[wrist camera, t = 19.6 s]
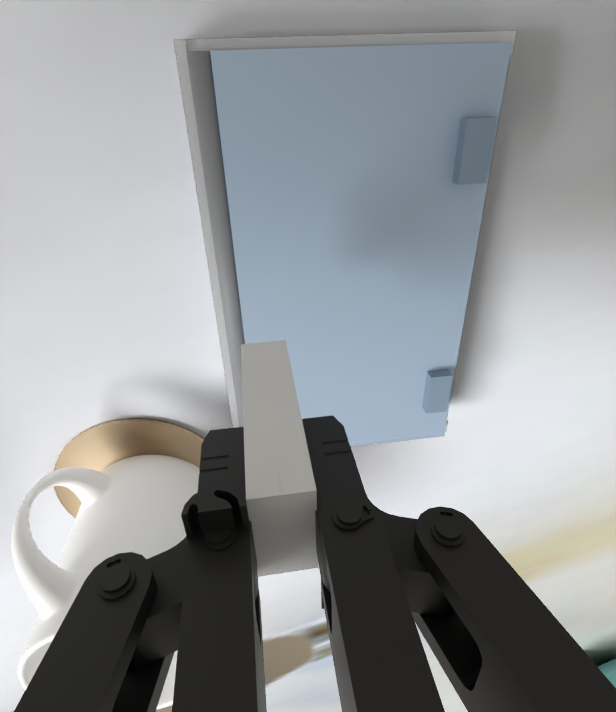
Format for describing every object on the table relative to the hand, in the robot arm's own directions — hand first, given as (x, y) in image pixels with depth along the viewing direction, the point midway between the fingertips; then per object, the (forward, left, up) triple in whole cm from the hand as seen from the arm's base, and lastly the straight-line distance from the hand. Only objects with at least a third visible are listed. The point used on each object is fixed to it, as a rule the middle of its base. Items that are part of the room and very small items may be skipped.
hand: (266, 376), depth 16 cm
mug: (-9, -13, -9) cm, 19 cm away
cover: (+4, 0, -7) cm, 8 cm away
